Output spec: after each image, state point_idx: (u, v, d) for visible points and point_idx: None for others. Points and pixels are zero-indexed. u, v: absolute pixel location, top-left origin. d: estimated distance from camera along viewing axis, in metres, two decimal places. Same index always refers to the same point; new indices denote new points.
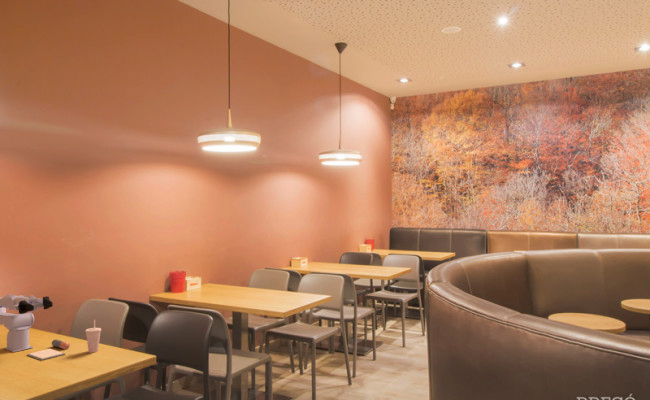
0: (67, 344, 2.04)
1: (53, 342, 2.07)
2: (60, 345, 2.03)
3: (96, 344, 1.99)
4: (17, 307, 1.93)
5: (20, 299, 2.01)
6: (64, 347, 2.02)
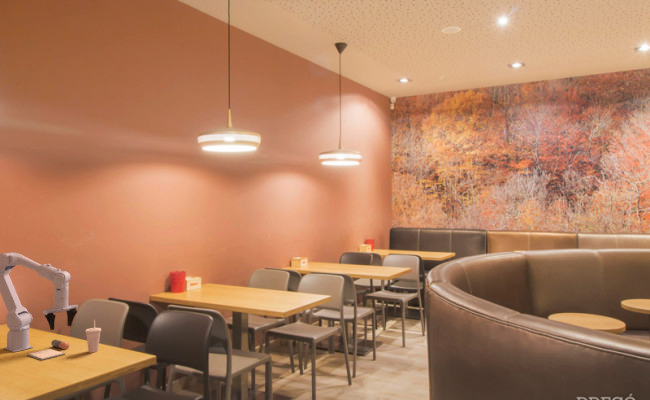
0: (66, 344, 2.03)
1: (52, 342, 2.07)
2: (60, 345, 2.03)
3: (96, 344, 1.99)
4: None
5: (64, 295, 2.05)
6: (64, 347, 2.02)
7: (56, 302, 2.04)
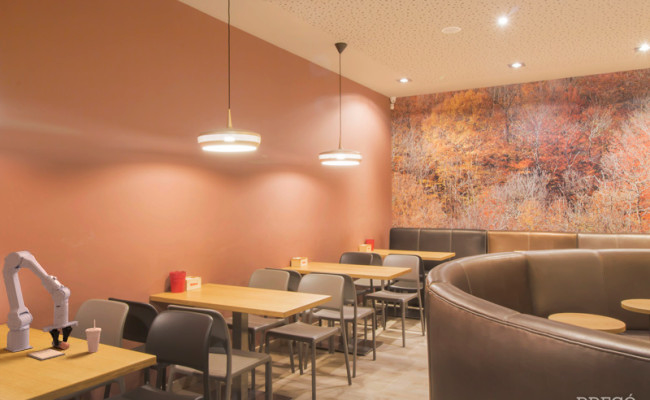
0: (67, 344, 2.04)
1: (53, 342, 2.07)
2: (60, 345, 2.03)
3: (96, 344, 1.99)
4: None
5: (64, 312, 2.05)
6: (64, 347, 2.02)
7: (56, 319, 2.04)
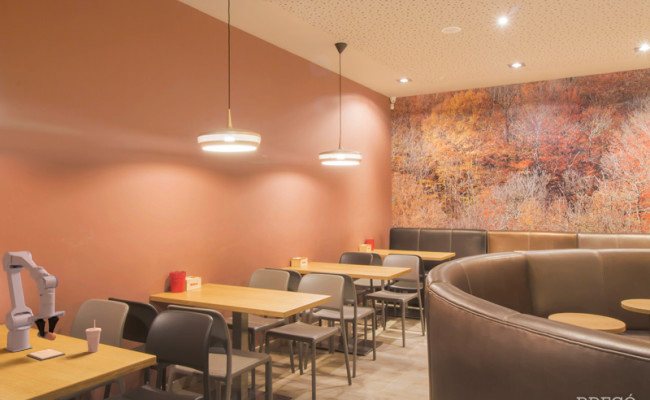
0: (53, 335, 1.93)
1: (39, 333, 1.96)
2: (46, 336, 1.93)
3: (96, 344, 1.99)
4: None
5: (45, 301, 1.93)
6: (50, 338, 1.92)
7: (41, 308, 1.93)
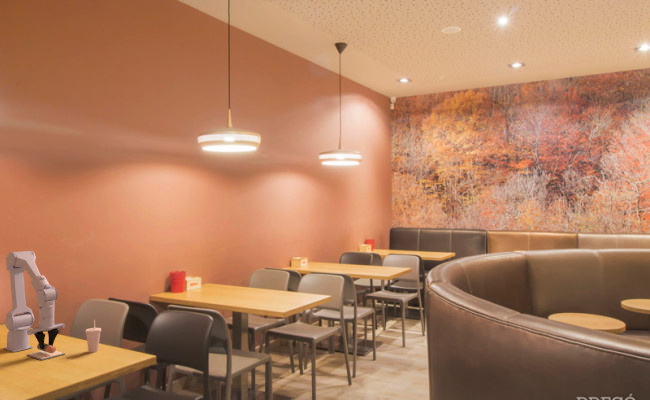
0: (53, 348, 1.93)
1: (38, 345, 1.96)
2: (46, 349, 1.92)
3: (96, 344, 1.99)
4: None
5: (45, 314, 1.93)
6: (50, 351, 1.92)
7: (41, 321, 1.93)
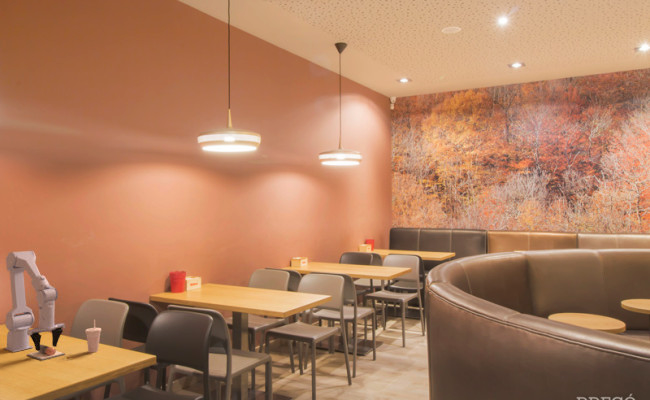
0: (53, 350, 1.93)
1: None
2: (46, 351, 1.92)
3: (96, 344, 1.99)
4: None
5: (45, 314, 1.93)
6: (50, 353, 1.92)
7: (41, 321, 1.93)
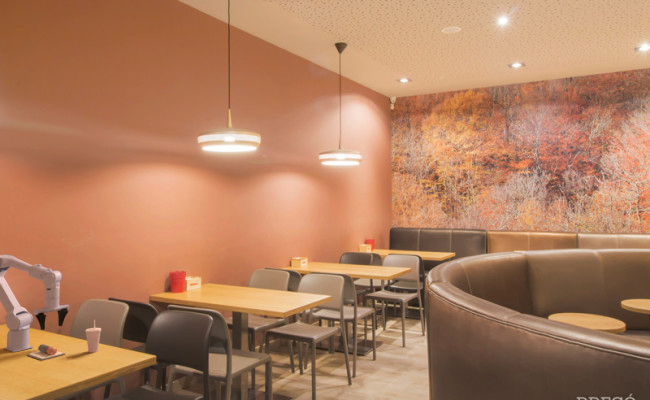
0: (55, 350, 1.93)
1: (40, 346, 1.97)
2: (47, 349, 1.93)
3: (96, 344, 1.99)
4: None
5: (54, 295, 2.03)
6: (51, 352, 1.92)
7: (47, 302, 2.02)
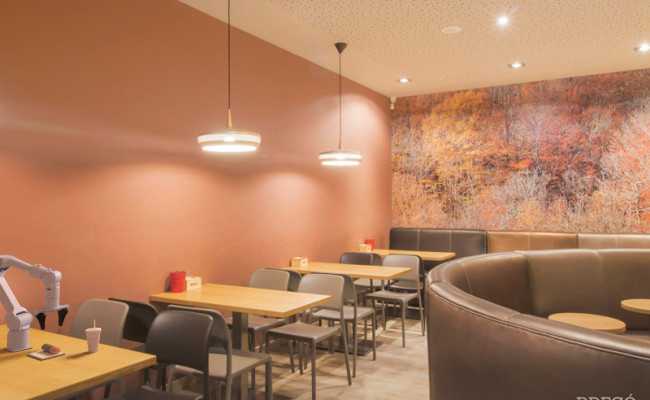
0: (58, 350, 1.94)
1: (47, 344, 1.99)
2: (53, 346, 1.95)
3: (96, 344, 1.99)
4: None
5: (54, 295, 2.03)
6: (55, 349, 1.93)
7: (47, 302, 2.02)
